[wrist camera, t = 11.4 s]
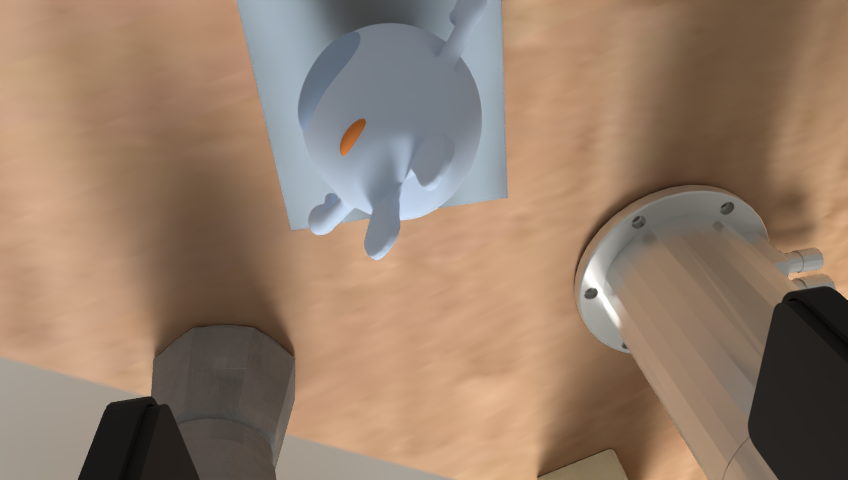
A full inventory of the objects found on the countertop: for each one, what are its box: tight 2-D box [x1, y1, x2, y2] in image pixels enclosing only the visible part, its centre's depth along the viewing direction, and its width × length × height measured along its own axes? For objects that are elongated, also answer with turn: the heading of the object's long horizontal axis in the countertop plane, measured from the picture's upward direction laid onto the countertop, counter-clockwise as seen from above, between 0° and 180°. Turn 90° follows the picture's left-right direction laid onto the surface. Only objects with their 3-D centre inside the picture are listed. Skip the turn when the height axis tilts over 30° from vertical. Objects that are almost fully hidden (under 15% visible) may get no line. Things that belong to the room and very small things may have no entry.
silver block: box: [237, 0, 508, 230], centre depth 29 cm, size 10×14×7 cm
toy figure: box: [298, 0, 488, 260], centre depth 21 cm, size 11×6×12 cm, turn 145°
